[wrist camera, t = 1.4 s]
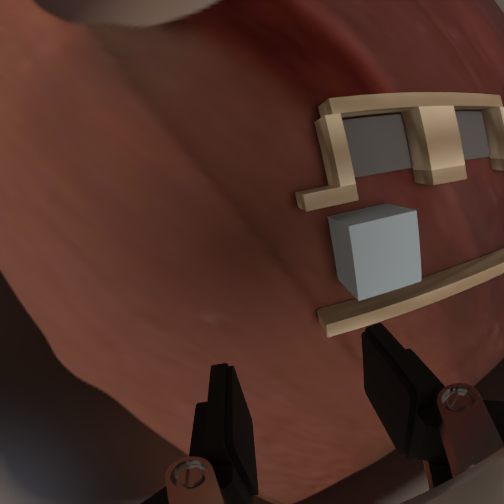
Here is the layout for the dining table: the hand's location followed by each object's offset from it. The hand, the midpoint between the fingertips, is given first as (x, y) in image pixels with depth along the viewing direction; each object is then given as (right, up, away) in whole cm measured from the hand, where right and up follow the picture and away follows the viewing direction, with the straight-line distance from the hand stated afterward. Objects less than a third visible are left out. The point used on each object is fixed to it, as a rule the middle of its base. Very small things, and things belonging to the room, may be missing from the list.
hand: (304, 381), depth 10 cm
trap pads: (+14, +15, +13) cm, 24 cm away
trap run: (+16, +10, +14) cm, 23 cm away
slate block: (+8, +5, +15) cm, 18 cm away
